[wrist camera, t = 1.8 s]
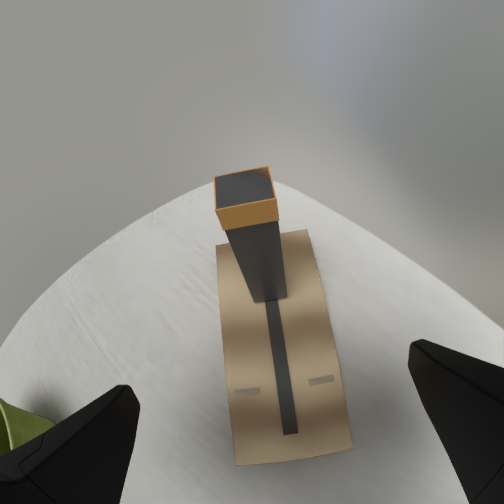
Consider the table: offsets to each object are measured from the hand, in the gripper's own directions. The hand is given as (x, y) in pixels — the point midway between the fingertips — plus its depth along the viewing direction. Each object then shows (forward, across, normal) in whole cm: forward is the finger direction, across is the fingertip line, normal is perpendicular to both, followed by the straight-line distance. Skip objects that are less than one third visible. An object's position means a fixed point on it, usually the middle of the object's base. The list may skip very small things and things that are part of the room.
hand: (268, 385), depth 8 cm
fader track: (+13, 0, +7) cm, 15 cm away
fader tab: (+14, 0, +2) cm, 14 cm away
